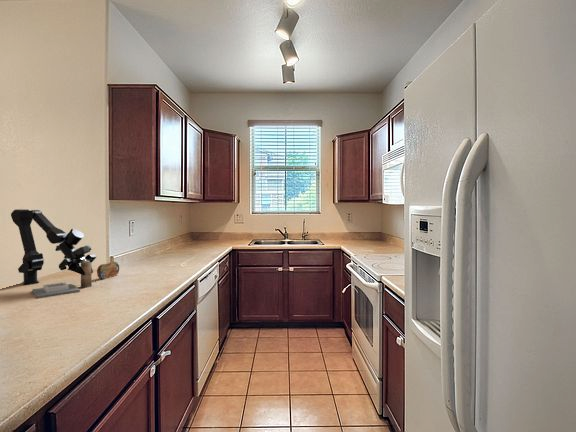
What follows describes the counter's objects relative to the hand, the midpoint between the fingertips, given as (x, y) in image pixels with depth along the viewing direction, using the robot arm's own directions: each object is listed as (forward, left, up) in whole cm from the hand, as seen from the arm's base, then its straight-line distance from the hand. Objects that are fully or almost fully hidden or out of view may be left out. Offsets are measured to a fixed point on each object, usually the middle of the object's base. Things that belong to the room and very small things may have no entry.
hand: (88, 273), depth 165 cm
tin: (-17, +14, -7) cm, 23 cm away
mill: (-1, -1, -7) cm, 7 cm away
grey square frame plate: (0, -14, -7) cm, 15 cm away
